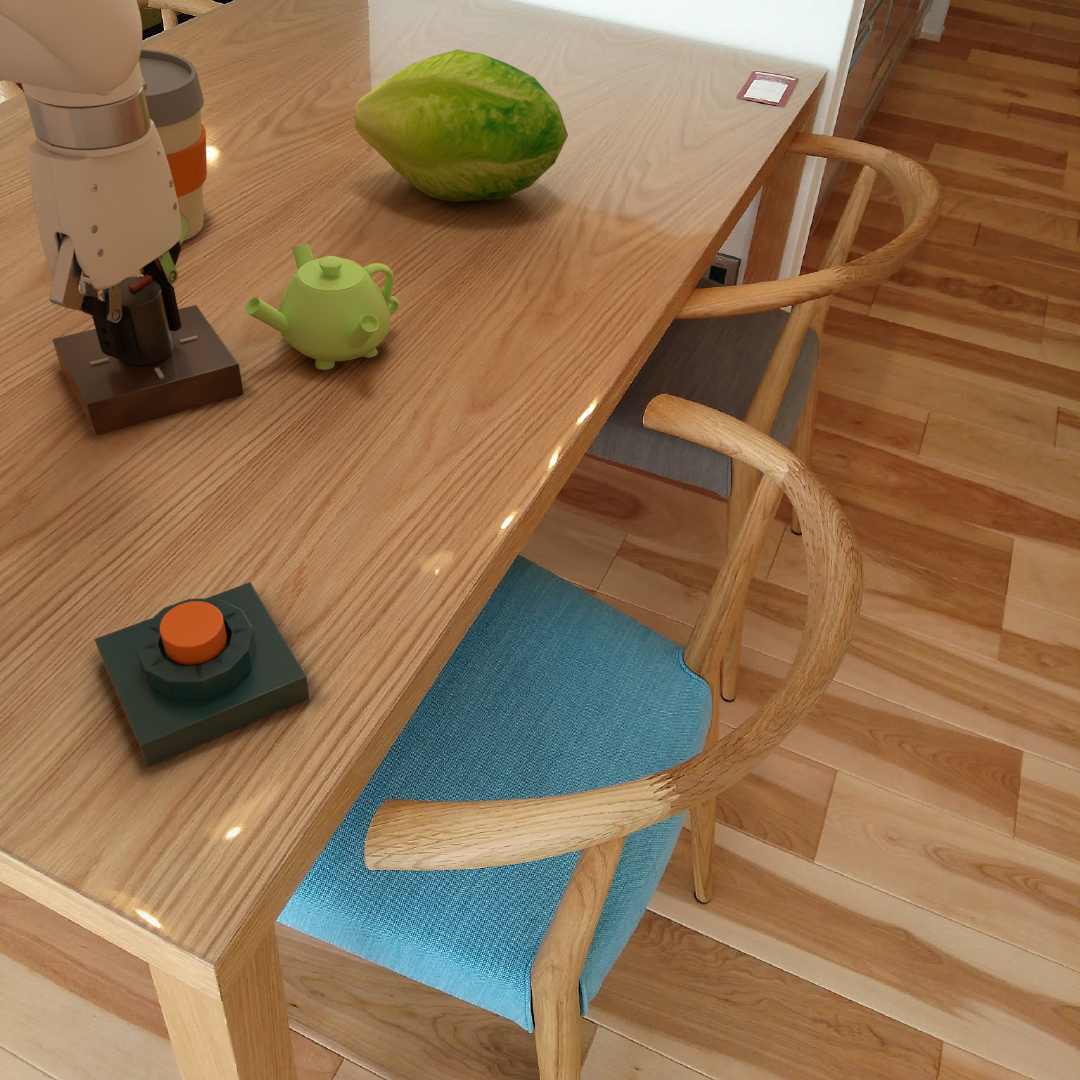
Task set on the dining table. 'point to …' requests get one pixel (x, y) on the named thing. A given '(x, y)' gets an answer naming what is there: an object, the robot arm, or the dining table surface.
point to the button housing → (202, 678)
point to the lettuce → (463, 126)
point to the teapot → (331, 308)
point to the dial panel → (149, 375)
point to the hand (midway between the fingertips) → (142, 339)
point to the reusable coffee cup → (178, 127)
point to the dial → (146, 319)
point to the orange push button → (193, 633)
